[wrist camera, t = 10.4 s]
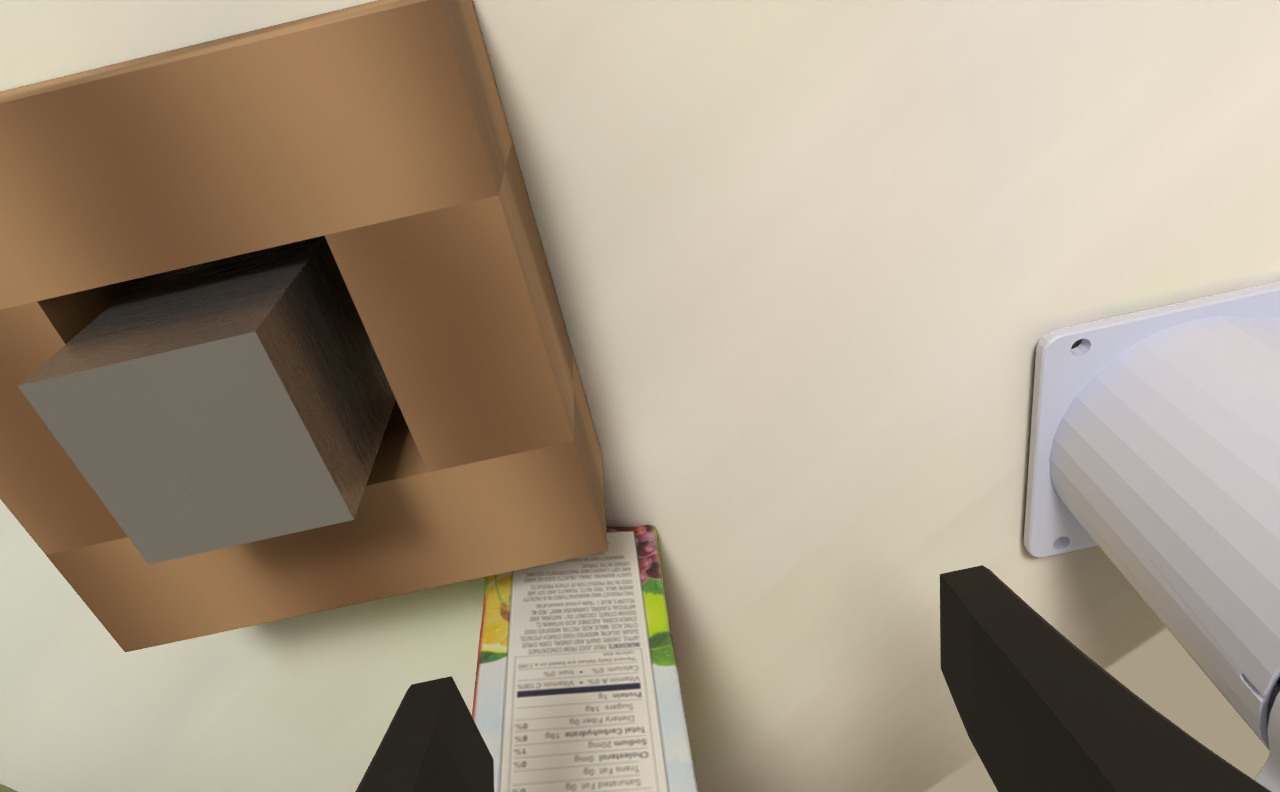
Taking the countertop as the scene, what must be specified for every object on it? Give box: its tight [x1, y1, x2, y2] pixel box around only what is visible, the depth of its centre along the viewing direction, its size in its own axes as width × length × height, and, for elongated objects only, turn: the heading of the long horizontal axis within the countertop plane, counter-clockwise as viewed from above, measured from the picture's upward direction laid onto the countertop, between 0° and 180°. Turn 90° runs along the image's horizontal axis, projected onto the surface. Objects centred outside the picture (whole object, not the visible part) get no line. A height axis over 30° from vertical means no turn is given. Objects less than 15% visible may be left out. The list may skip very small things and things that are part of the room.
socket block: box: [0, 0, 608, 652], centre depth 18 cm, size 12×12×4 cm
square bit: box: [18, 236, 396, 565], centre depth 17 cm, size 4×4×6 cm
